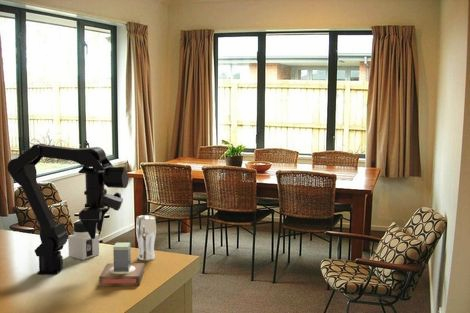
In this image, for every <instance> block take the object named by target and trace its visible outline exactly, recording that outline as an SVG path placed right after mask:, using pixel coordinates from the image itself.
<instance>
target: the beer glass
mask: <svg viewBox="0 0 470 313" xmlns="http://www.w3.org/2000/svg"><path fill="white" fill-rule="evenodd" d="M156 222H157V221H156V216H155V215H151V214H145V215H144V214H143V215H137V216H136V224H135V225H136V226H135V232H136V240H137V243H138V244H137V246H138V254H137V255H138V256H137V259H138V260H139V261H142V262H148V261H149V262H150V261H153V260H155V259H156V254H155V242H156V235H157V223H156Z"/></svg>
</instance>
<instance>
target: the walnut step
mask: <svg viewBox="0 0 470 313" xmlns="http://www.w3.org/2000/svg"><path fill="white" fill-rule="evenodd" d="M144 274H145V263H144V262H136V263H135V262H131V267H130V270H129V272H114V262H113V263H110V262H109V263H106V265H105V266H104V268H103V270H102V272H101V273H100V275H99V276H98V281H99V282H98V283H99V284H98V286H99V287H125V286H127V287H128V286H129V287H132V286H135V287H136V286H140V284H141V283H142V280H143V276H144Z"/></svg>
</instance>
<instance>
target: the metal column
mask: <svg viewBox="0 0 470 313" xmlns="http://www.w3.org/2000/svg"><path fill="white" fill-rule="evenodd" d="M112 248H113V252H112V254H113V263H114V272H129V270H130V267H131V263H132V262H131V261H132V260H131V258H132V257H131V242H115V243H114V245H113V247H112Z"/></svg>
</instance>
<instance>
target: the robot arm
mask: <svg viewBox="0 0 470 313" xmlns="http://www.w3.org/2000/svg"><path fill="white" fill-rule="evenodd" d="M106 155H107V154H106V152H105V150H104V149H103V148H102V147H100V146H99V147H98V146H94V147H83V148H75V147H67V146H66V147H65V146H58V145H50V144H45V143H36V144H33V145H32V146H31V147H30V148H29V149H28V150H26V151H25V152H23V153H22V154H20V155H18V156H17V157H16V158H12V159H10V160H9V162H8V164H7V165H6V168H7V172H8V174H9V175H10V177H11V178H12V180H13V181H14V182H16V183H17V184H18V186H19V185H20V188H21V189H22V191H23V193H24V195H25V198H26V199H27V201H28V204H29V206H30V208H31V210H32V213H33V215H34V216H35V219H36V222H37V224H38V226H39V239H40V244H39V246H37V247H36V248H35V249H34V253H35V256H36V257H38V271H37V275H54V274H55V275H58V274H59V272H60V271H62V269H63V268H64V264H63V263H64V258H63V255H62V253H61V252H62V251H61V250H63V249H64V248H63V247H64V245H66V244H67V243H68V236H69V235H68V234H69V231H68V230H67V229H66V226H65V224H64V222H60V223H58V221H56V220H55V219H54V216H53V214H52V211H51V210H50V207H49V204H48V203H47V201H46V199H45V197H44V194H43V192H42V190H41V188H40V186H39V183H38V181H37V169H36V165H37V164H39V162H41V161H42V159H43V158H47V159H56V160H64V161H70V162H71V161H72V162H75V163H77V164H79V165H81V166H82V168H81V169H80V170H78V174H84V175H85V176H84V177H85V190H84V191H83V192H84V193H83V195H84V196H85V201H86V202H85V204H84V207H83V209H81V211H80V212H78V220H81V221H82V223H83V224H84V226H85V228H86V230H87V231H88V233H89V235H90V237H91V239H95V235H96V234H97V231H98V232H101V231H102V228H103V225H104V221H105V216H106V214H107V212H108V211H110V209H113V210H114V211H119V210H120V209H121V207H122V203H123V201H124V198H123V197H122V194H121V193H120V192H117V191H116V192H115V193H114V194H111V193H110V194H109V193H108V191H107V189H106V188H105V186H106V187H107V188H110V189H111V188H114V189H117V188H119V189H126V188H127V186H128V185H129V178H130V177H129V175H128V174H129V173H128V171H127V170H126V168H127V167H126V166H125V165H123V166H122V165H121V166H114V165H113V163H111V161H110V160H109V158H107V157H108V156H106Z"/></svg>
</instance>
